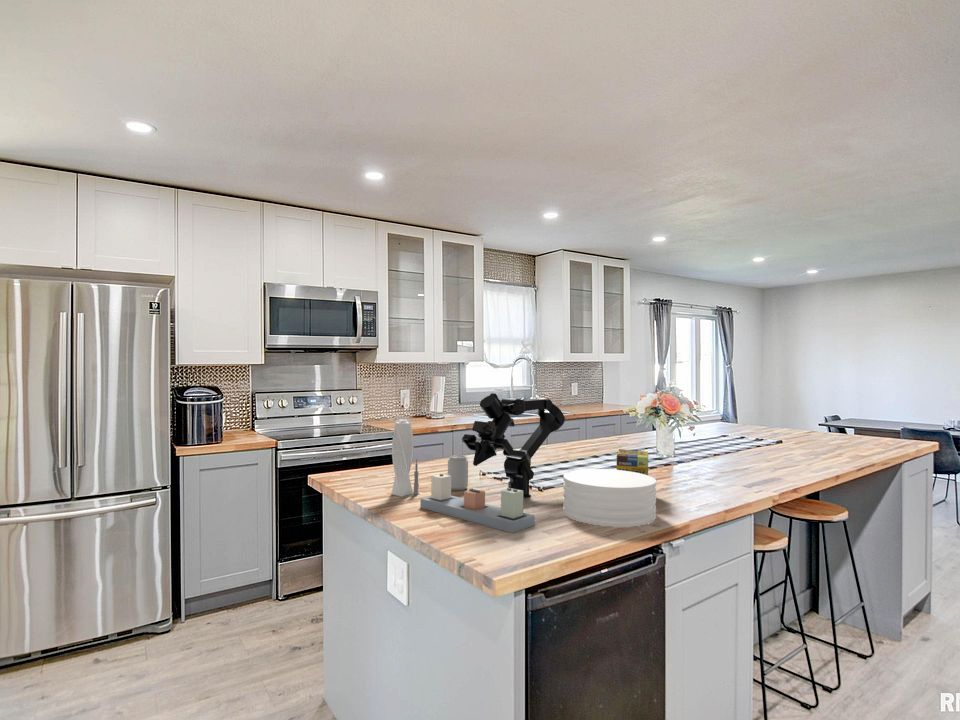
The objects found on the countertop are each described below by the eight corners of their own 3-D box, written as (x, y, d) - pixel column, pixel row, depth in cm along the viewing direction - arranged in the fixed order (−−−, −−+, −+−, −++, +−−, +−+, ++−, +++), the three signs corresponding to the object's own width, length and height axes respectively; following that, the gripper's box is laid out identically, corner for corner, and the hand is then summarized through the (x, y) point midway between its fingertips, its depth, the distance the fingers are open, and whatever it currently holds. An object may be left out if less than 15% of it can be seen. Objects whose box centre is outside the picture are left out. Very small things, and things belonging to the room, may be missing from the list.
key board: (420, 507, 173) (420, 498, 173) (443, 502, 180) (443, 493, 180) (512, 533, 148) (512, 522, 148) (534, 525, 155) (534, 515, 155)
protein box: (615, 500, 185) (616, 455, 185) (618, 491, 200) (618, 448, 200) (647, 503, 182) (648, 457, 182) (647, 493, 197) (648, 450, 197)
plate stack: (544, 513, 169) (545, 476, 169) (595, 498, 188) (595, 465, 188) (625, 534, 149) (625, 492, 149) (672, 515, 168) (672, 478, 169)
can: (465, 491, 196) (465, 458, 196) (445, 490, 198) (445, 457, 198) (469, 487, 203) (470, 454, 203) (450, 485, 205) (450, 454, 205)
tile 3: (463, 514, 164) (464, 489, 164) (473, 511, 167) (474, 487, 167) (474, 517, 161) (475, 492, 161) (484, 514, 164) (485, 489, 164)
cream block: (431, 497, 174) (431, 474, 174) (441, 495, 177) (441, 472, 177) (440, 500, 171) (441, 476, 171) (451, 497, 174) (451, 474, 174)
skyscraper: (402, 499, 184) (403, 417, 185) (386, 495, 189) (387, 415, 190) (419, 495, 191) (420, 415, 191) (403, 491, 196) (404, 413, 196)
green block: (500, 515, 154) (501, 488, 154) (510, 512, 158) (511, 486, 158) (513, 518, 151) (513, 491, 151) (523, 515, 155) (523, 488, 155)
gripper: (466, 410, 185) (441, 445, 177) (507, 413, 172) (483, 452, 164) (481, 431, 190) (458, 466, 182) (523, 436, 178) (500, 475, 169)
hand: (474, 464), depth 174 cm, fingers closed
